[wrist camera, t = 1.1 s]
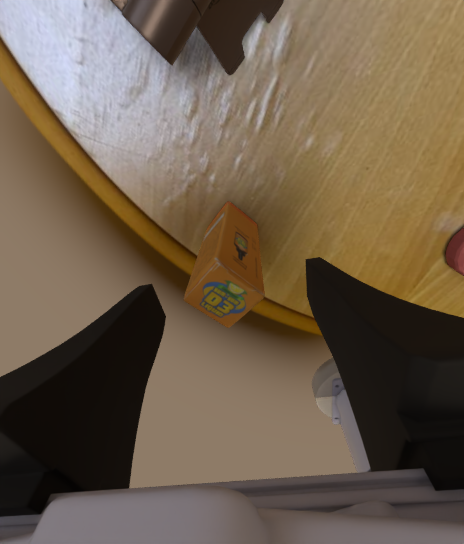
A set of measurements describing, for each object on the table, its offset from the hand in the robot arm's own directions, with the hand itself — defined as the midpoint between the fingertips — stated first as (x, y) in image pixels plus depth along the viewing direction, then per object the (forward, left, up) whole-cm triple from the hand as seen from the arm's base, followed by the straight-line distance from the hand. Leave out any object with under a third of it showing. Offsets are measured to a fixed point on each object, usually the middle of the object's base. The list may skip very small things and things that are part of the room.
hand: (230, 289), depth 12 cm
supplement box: (-1, 0, -11) cm, 11 cm away
